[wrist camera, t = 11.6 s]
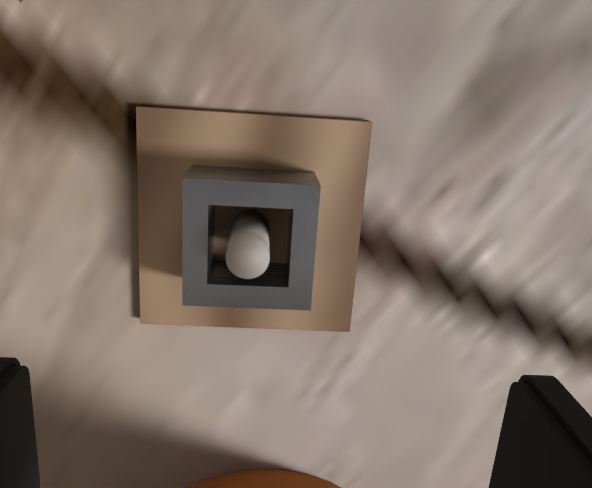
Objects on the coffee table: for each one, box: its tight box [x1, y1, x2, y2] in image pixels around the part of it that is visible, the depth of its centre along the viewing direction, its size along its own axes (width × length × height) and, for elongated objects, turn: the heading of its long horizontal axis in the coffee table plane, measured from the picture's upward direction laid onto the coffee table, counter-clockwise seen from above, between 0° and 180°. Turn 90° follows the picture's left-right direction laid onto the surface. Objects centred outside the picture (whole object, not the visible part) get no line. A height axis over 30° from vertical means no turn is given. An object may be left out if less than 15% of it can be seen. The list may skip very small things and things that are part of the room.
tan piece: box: [136, 106, 372, 332], centre depth 28 cm, size 12×12×6 cm
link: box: [182, 165, 321, 311], centre depth 28 cm, size 6×6×4 cm
